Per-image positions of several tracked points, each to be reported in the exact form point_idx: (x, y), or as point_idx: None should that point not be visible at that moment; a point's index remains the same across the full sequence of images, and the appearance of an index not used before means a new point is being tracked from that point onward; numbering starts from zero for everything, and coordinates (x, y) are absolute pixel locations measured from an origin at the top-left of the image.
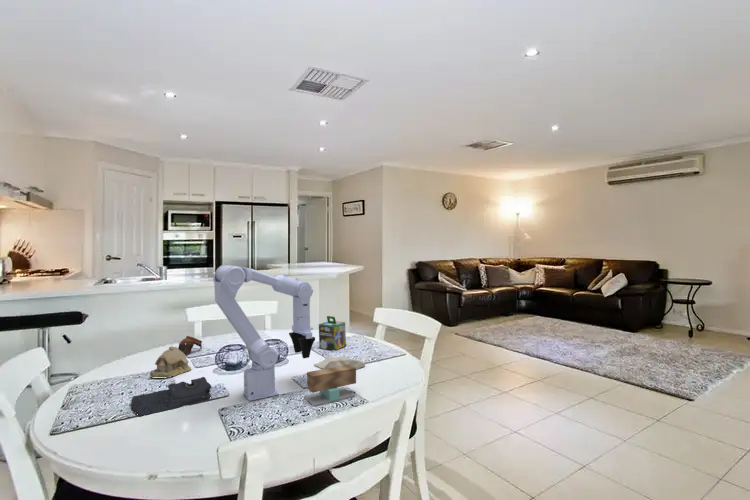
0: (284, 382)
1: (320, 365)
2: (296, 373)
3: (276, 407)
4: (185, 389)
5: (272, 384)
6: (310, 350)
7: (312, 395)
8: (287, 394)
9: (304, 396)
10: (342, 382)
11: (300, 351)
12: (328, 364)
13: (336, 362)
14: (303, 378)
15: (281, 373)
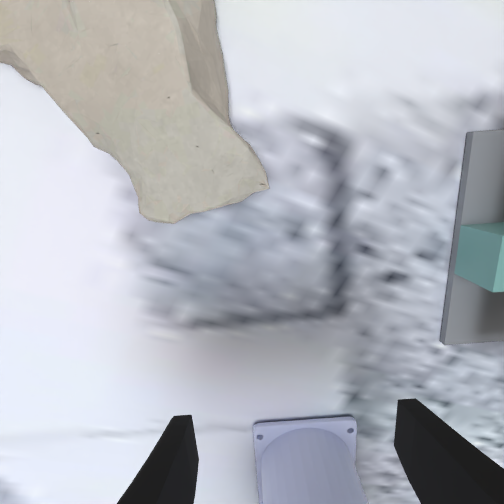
0: (220, 368)
1: (215, 190)
2: (112, 290)
3: None
4: None
5: (356, 478)
6: (492, 462)
7: (464, 312)
8: (365, 386)
9: (451, 344)
10: None
11: (190, 425)
12: (224, 122)
13: (186, 23)
14: (206, 278)
15: (84, 354)
